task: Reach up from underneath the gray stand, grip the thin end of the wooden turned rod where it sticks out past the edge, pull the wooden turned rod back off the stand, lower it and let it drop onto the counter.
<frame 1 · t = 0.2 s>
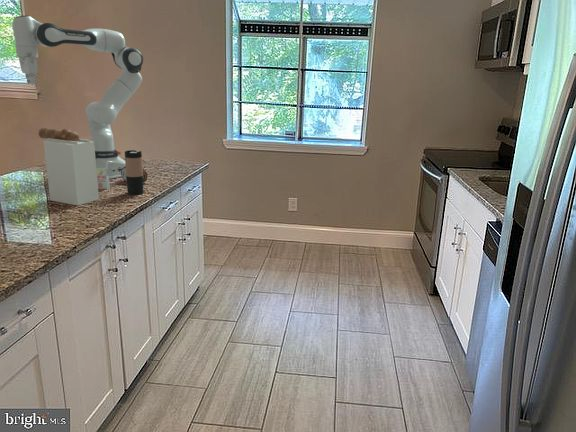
hand: (31, 83, 212), 48 cm above the countertop, tool pointing down, fingers open, 8 cm apart
gray stand: (74, 199, 198), on the countertop
travel mug: (135, 193, 214), on the countertop
wooden turned rod: (58, 140, 193), point 26 cm above the countertop, touching gray stand
small grey carton: (101, 188, 219), on the countertop
tin: (134, 182, 234), on the countertop
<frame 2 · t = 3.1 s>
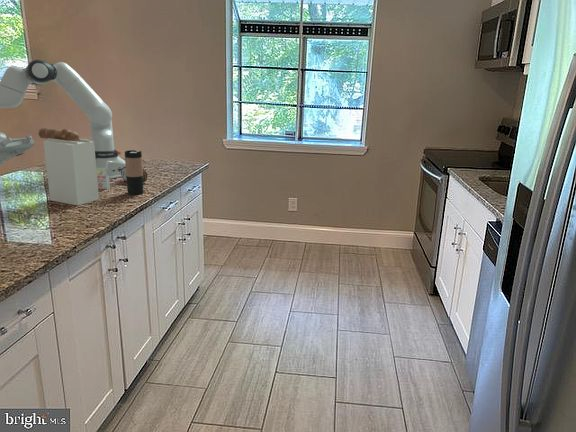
hand: (21, 138, 201), 25 cm above the countertop, tool pointing upward, fingers open, 8 cm apart
nothing on the countertop moved.
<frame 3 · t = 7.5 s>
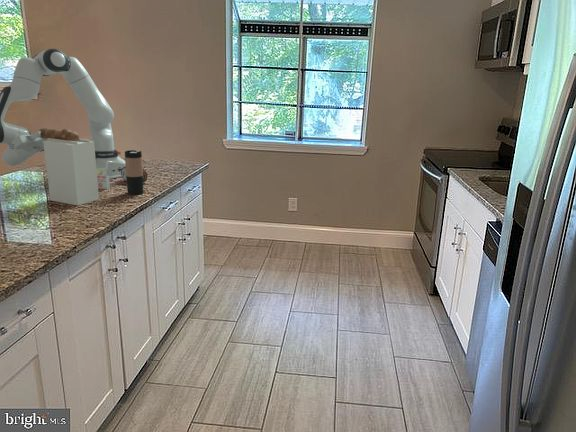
hand: (46, 132, 194), 29 cm above the countertop, tool pointing upward, fingers closed on wooden turned rod, 4 cm apart
wooden turned rod: (58, 140, 193), point 26 cm above the countertop, touching gripper, gray stand
everything else where it was.
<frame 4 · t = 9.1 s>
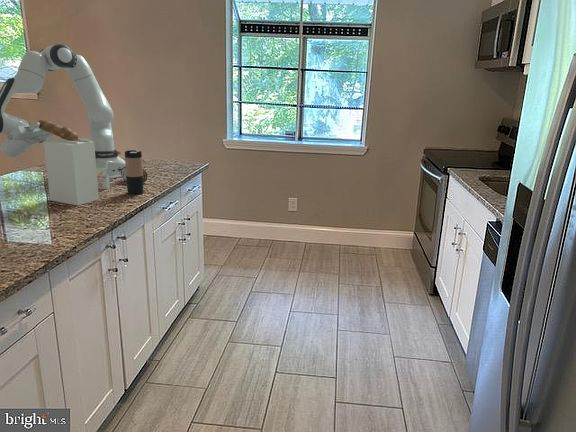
hand: (44, 123, 193), 33 cm above the countertop, tool pointing upward, fingers closed on wooden turned rod, 4 cm apart
wooden turned rod: (56, 135, 192), point 28 cm above the countertop, tilted 13°, touching gripper
everything else where it was.
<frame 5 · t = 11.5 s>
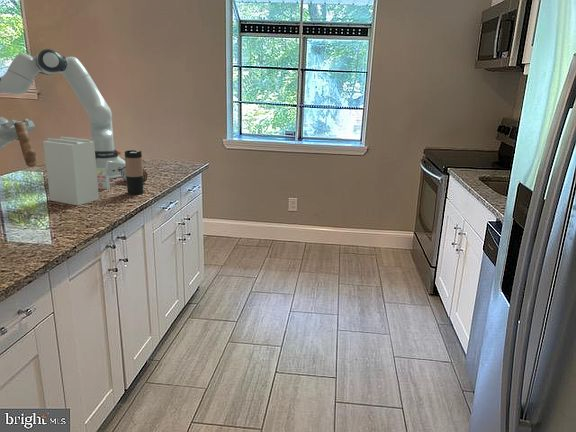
hand: (21, 120, 198), 33 cm above the countertop, tool pointing upward, fingers closed on wooden turned rod, 4 cm apart
wooden turned rod: (22, 143, 201), point 22 cm above the countertop, tilted 77°, touching gripper
everything else where it was.
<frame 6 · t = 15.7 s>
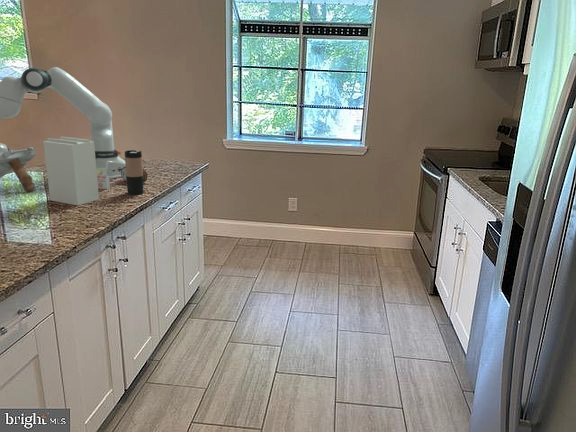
hand: (22, 149, 202), 20 cm above the countertop, tool pointing upward, fingers open, 8 cm apart
wooden turned rod: (17, 172, 208), point 8 cm above the countertop, tilted 55°, touching arm
everything else where it was.
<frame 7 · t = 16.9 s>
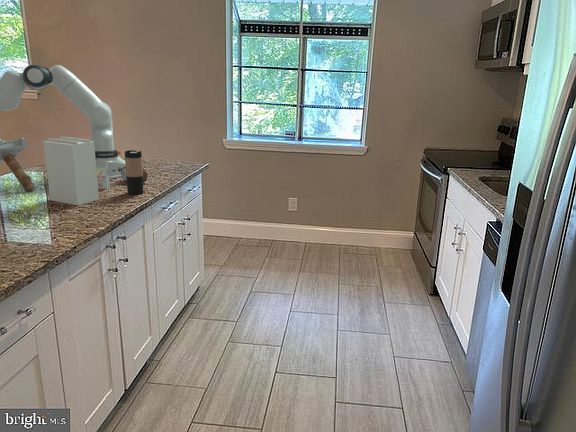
hand: (13, 140, 203), 23 cm above the countertop, tool pointing upward, fingers open, 8 cm apart
wooden turned rod: (16, 174, 209), point 7 cm above the countertop, tilted 47°, touching arm
everything else where it was.
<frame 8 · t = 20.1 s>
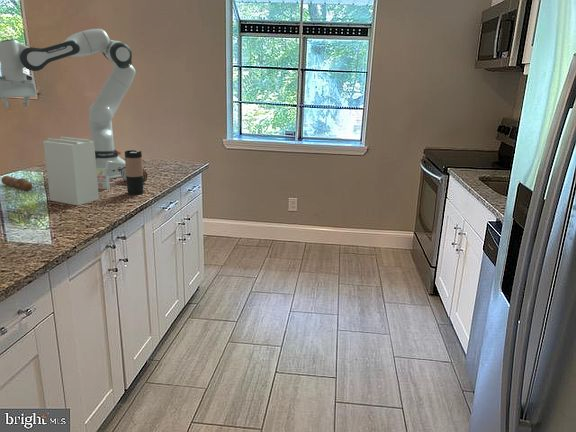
hand: (17, 106, 211), 37 cm above the countertop, tool pointing down, fingers open, 8 cm apart
wooden turned rod: (16, 187, 213), on the countertop, tilted 10°
everything else where it was.
at the end: wooden turned rod on the countertop; wooden turned rod touching countertop; the gripper is holding nothing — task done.
